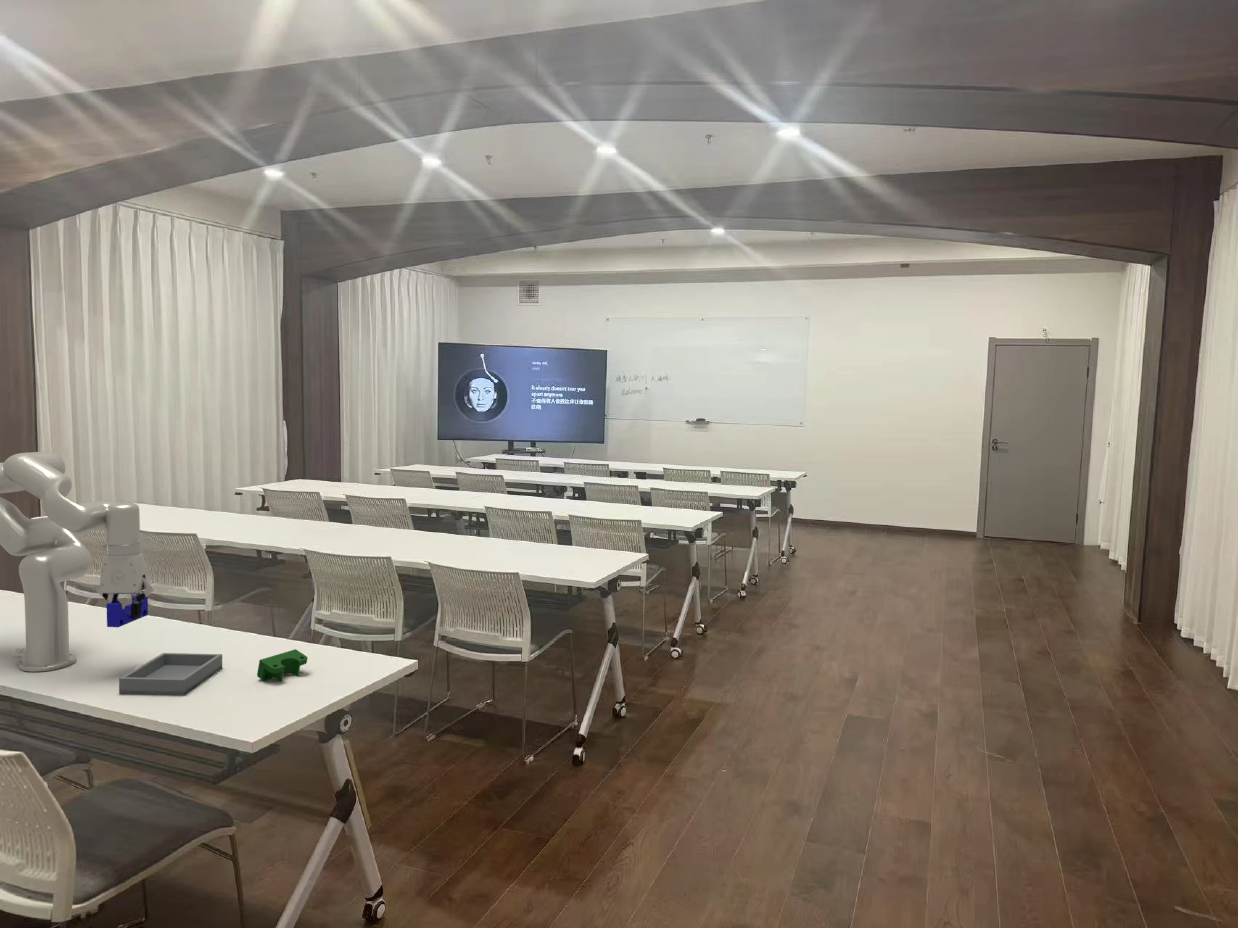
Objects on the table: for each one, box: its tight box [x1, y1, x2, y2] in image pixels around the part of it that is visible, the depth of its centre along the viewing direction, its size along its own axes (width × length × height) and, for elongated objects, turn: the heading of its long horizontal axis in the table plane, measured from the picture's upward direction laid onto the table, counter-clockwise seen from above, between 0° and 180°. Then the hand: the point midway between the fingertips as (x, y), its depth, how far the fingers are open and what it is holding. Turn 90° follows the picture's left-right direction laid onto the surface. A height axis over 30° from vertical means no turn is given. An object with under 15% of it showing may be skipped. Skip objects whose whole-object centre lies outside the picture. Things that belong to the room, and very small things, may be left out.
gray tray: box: [118, 652, 223, 697], centre depth 207 cm, size 16×20×4 cm
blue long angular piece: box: [106, 595, 149, 628], centre depth 210 cm, size 12×4×6 cm, turn 177°
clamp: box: [256, 648, 309, 683], centre depth 212 cm, size 12×6×9 cm, turn 144°
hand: (125, 616), depth 210 cm, fingers closed on blue long angular piece, 4 cm apart
